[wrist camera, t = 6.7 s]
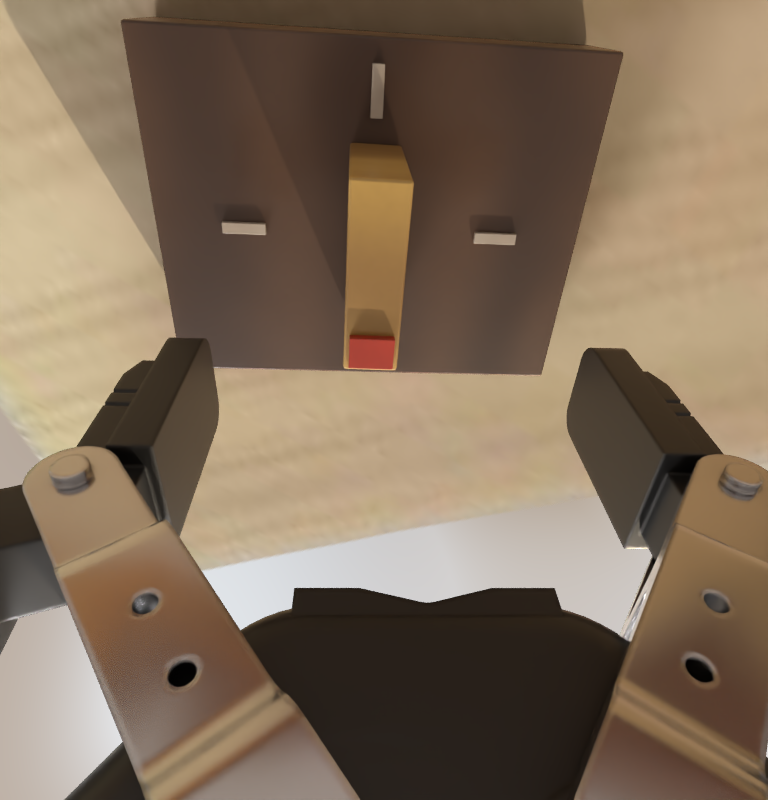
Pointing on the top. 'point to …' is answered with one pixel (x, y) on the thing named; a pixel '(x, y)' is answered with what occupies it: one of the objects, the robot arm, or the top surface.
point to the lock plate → (329, 180)
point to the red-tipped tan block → (376, 254)
